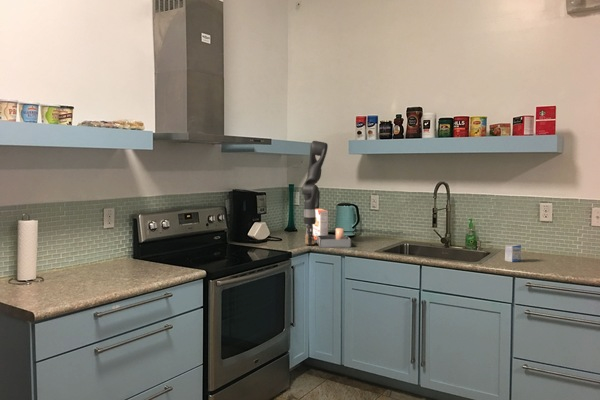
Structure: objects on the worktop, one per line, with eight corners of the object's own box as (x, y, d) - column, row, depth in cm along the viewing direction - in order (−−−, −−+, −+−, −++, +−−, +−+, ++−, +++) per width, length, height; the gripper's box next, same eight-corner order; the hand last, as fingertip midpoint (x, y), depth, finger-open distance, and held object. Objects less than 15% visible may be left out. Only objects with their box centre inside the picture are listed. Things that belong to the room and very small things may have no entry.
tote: (316, 243, 327) (317, 235, 326) (346, 242, 328) (346, 235, 328) (320, 247, 309) (320, 239, 309) (350, 247, 311) (351, 239, 311)
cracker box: (312, 239, 344) (312, 208, 342) (320, 238, 346) (320, 208, 344) (319, 242, 330) (319, 210, 329) (328, 241, 332) (328, 210, 331)
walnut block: (305, 242, 321) (305, 235, 321) (313, 242, 321) (313, 235, 321) (305, 244, 316) (305, 236, 316) (313, 244, 316) (313, 236, 316)
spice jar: (335, 243, 322) (335, 228, 321) (343, 243, 322) (343, 227, 321) (336, 244, 317) (335, 229, 316) (343, 244, 317) (343, 229, 316)
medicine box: (511, 262, 268) (512, 246, 267) (504, 261, 272) (505, 245, 271) (521, 260, 272) (521, 245, 272) (513, 259, 276) (514, 243, 275)
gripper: (316, 217, 310) (316, 244, 312) (314, 214, 325) (314, 240, 326) (304, 217, 310) (304, 244, 311) (302, 214, 324) (302, 240, 326)
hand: (309, 242), depth 319 cm, fingers closed on walnut block, 5 cm apart
